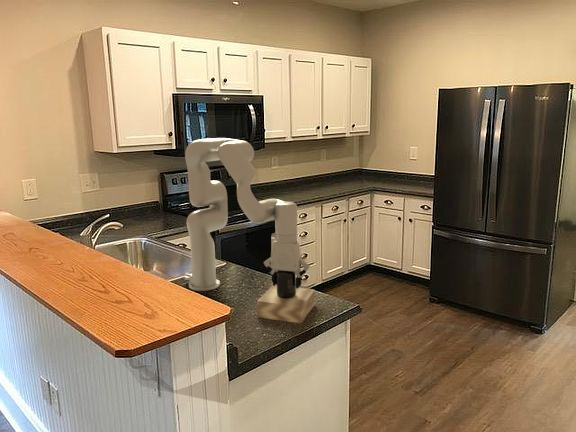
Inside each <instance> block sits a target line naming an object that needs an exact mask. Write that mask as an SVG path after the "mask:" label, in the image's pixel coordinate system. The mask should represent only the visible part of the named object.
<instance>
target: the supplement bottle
mask: <svg viewBox="0 0 576 432" xmlns="http://www.w3.org/2000/svg"><path fill="white" fill-rule="evenodd" d="M296 277H297V275H296V274H295V272H289V271H280V270H278V271H277V273H276V281H277V295H278V297H280V298H292V297H294V296H295V295H296Z"/></svg>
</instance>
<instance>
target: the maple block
mask: <svg viewBox="0 0 576 432" xmlns="http://www.w3.org/2000/svg"><path fill="white" fill-rule="evenodd" d="M256 302H257V304H256V305H257V307H256V308H257V309H256V310H257V311H256V312H257V313H256V315H257V318H261V319H267V320H275V321H280V322H289V323H295V324H303V322H304V321H305V319H306V318H307V317H308V315H309V314H310V312H311V311H312V309H313V308H314V306H315V289H313V288H311V289H310V288H303V287H299V288H296V295H295V296H294V297H292V298H280V297H278V295H277V285H275V286H272V285H271V286H270V288H269V289H267V290H266V291H265V292H264V293H263V295H262V296H260V298H259V299H258V300H257V301H256Z"/></svg>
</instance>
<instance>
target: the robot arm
mask: <svg viewBox="0 0 576 432" xmlns="http://www.w3.org/2000/svg"><path fill="white" fill-rule="evenodd" d="M254 157H255V149H254V147H253V146H252V145H251V144H250V142H248V141H246V140H240V139H234V138H227V137H216V138H215V137H214V138H201V139H200V138H199V139H196V140H193V141H191V142H190V143H189V144H188V146H187V147H186V149H185V153H184V160H185V164H186V169H187V174H188V178H187V179H188V196H189V202H190V204H191V205H192V207H196V208H202V207H203V209H197V210H194V211H192V212H191V213H190V214H188V216H187V218H186V227H187V231H188V232H187V233H188V236H189V242H190V243H189V245H190V259H191V260H190V261H191V273H185V274H184V280H185V281H186V280H188V281H189V283H188V288H189V289H190V290H192V291H197V292H206V291H211V290H213V291H214V290H215V289H218V288H219V287H221V286H220V285H221V282H220V280H219V279H217V271H216V268H217V267H216V250H215V249H216V248H215V247H216V246H215V241H214V239H213V237H212V235H211V233H212V232H215V231H218V230H221V229H223V228H225V227H226V225H227V224H228V218H229V215H228V214H229V212H228V210H229V208H228V192H227V189H226V186H225V185H224V183H223V182H221V181H220V180H211V171H210V167H209V165H208V164H207V163H209V162H215V161H220V162H221V164H222V165H223V166H224V167H225V169H226V170H227V172H228V174H229V175H230V177H231V178H232V180H233V181H234V183H235V185H236V198H237V203H238V205H239V208H240V209H241V210H242V212H243V213H244V215H245V216H246V217H247V219H248V220H249V221H250V222H251V223H254V224H256V225H257V224H258V225H259V224H265V223H267V222H268V223H269V222H271V221H274V223H275V224H274V225H275V226H274V227H275V230H274V231H275V232H274V233H271V237H274V238H275V241H273V245H272V252H271V251H270V257H269V258H267V259H266V260H265V261H263V264H264V267H266V269H267V271H268V272H269V273H270V275H271V283H272V282H273V286H275V285H276V284H277V281H276V273H277V272H276V271H277V270H280V271H289V272H295V274H296V288H301V286H302V284H303V283H302V282H303V281H302V280H303V279H302V276H303V275H305V274H306V272H307V271H308V270H309V268H310V264H308V263H307V262H306V261H305V260H303V259H302V251H301V245H300V242H299V240H298V206H297V203H295V202H293V201H284V200H281V199H278V198H269V199H268V198H267V199H263V200H259V201H258V200H257V198H256V197H255V195H254V194H253V192H252V189H251V184H252V183H253V182H254V181H255V180H256V178H257V176H258V172H257V169H255V167H254V166H253V164H252V163H251V162H252V161H253V160H254ZM206 162H207V163H206ZM208 206H209V207H208ZM204 207H208V208H204ZM302 267H303V269H301V268H302Z"/></svg>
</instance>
